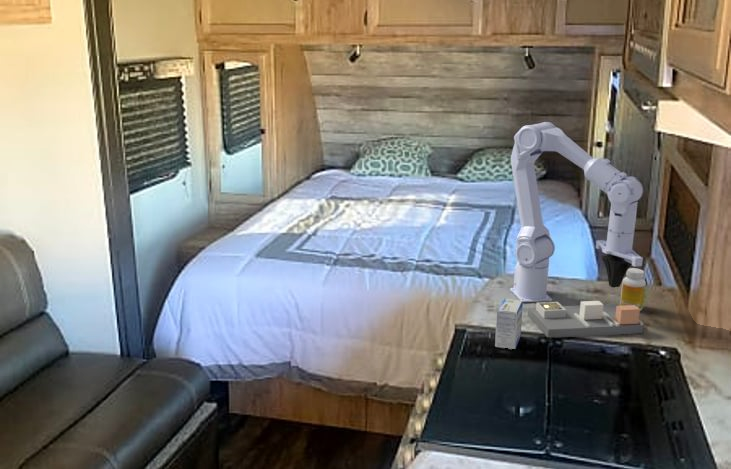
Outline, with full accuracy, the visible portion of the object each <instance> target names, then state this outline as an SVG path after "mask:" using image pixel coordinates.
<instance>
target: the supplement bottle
mask: <svg viewBox="0 0 731 469" xmlns="http://www.w3.org/2000/svg"><path fill="white" fill-rule="evenodd" d="M625 275H626V276H624V277H623V280H622V282H621V292H620V300H619V306H626V305H635V306H636V307H638V308H639V309H640V311H642V310H643V308H644V303H645V302H644V300H645V291H646V285H647V284H646V280H645V279H644V276H645V272H644V270H643V269H640V268H636V267H629V269H628V270H627V272H626V273H625Z"/></svg>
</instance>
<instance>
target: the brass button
mask: <svg viewBox="0 0 731 469" xmlns="http://www.w3.org/2000/svg"><path fill="white" fill-rule="evenodd" d="M546 302H547V303H544V304H543V308H544V309H545V310H559V305H558V304H556V303H551V302H552V301H546Z"/></svg>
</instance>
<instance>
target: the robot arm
mask: <svg viewBox="0 0 731 469" xmlns="http://www.w3.org/2000/svg"><path fill="white" fill-rule="evenodd" d="M513 140H514V145H513V147H512V152H511V155H510V163H511V170H512V176H513V177H512V178H513V183H514V191H515V196H516V204H517V210H518V215H519V216H518V217H519V222H520V230H519V232H518V234H517V236H516V247H515V252H514V253H515V258H516V260H517V263H515V267H514V276H513V287H510V288H509V290H510V291H511V292H512V293H513V295H514V296H515V297H516V298H517V300H519V301H523V303H541V302H553V299H552V298H551V297H550V295H548V294H547V291H548V280H549V278H548V277H549V268H550V267H549V265H550V258H551V257H553V255H554V253H555V250H556V247H555V242H554V240H553V239H552V238H551V235H550V230H549V228H547V226H545V224H544V223H543V221H544V220H543V216H542V208H541V202H540V196H539V195H540V194H539V188H538V181H537V175H536V168H535V162H536V161H537V160H538V158H539V157H540V156H541V155H542V153H544V152H556V153H559V155H561V156H563V157H564V158H566V159H567V160H569V161H570V162H572V163H573V164H574V165H576V166H577V167H579V168H581V169H582V170H583V172H584V178H585V179H587V180H588V181H590V183H592V185H594V186H596V187H597V188H599V189H600V190H601V191H602V192H604V193H605V194H606V195H607V198H608V200H609V202H610V211H609V217H608V218H609V219H608V225H607V226H608V227H607V236H606V240H605V239H600V240H599V239H598V240H596V241H595V242H596V243H595V244H596V245H595V249H598V250H601V252H602V253H604V254H605V255H602V257H601V261H603V264H604V267H605V269H606V274H607V280H608V286H609V287H611V288H620V286H622V282H623V279H624V278H625V275H626V272H627V270H628V269H629V268H631V266H632V267H633V268H636V267H642V266H643V260H644V258H643V257H642V256H640V255H639V253H637V252H636V251H635V250H633V243H634V236H635V227H636V221H637V220H636V219H637V211H638V209H637V208H638V203H639V202H638V201H639V200H640V199H641V198H642V196H643V194H644V188H643V185H642V183H641V181H639V180H638V178H637V177H635V176H628V175H627V173H626V172H624V171H620V170H619V169H617V168H616V167H614V166H613V165H612V164H611V160H610V159H608V158H602V157H597V158H594V157H592V156H591V155H590V154H589V153H588V152H587V151H585V150H584V149H583V148H582V147H581V146H579V145H578V144H577V143H576V142H574V141H573V139H571V138H570V137H568V136H567V135H566V134H565V133H564V131H563V130H562V129H561V128H560V127H556V126H555V125H554V124H553V123H552V122H550V121H549V122H548V121H544V122H540V123H535V124H529V125H528V124H527V125H523V126H522V127H521V128H520V129H519V130H518V131H517V132H516V134H515V135H514V136H513Z"/></svg>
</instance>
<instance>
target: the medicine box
mask: <svg viewBox="0 0 731 469" xmlns="http://www.w3.org/2000/svg"><path fill="white" fill-rule="evenodd" d="M523 306H524V302H523V301H520V300H519V299H512V298H504V299H503V300H502V302H501V304H500V305H499V308H498V309H497V311H496V319H495V320H496V322H495V336H494V338H495V343H494V346H495V347H496V348H500V349H505V348H508V349H507V350H512V349H515V350H516V348H517V346H518V343H519V341H520V339H521V336H522V334H521V333H522V322H523V321H522V320H523V309H524V308H523Z"/></svg>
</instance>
